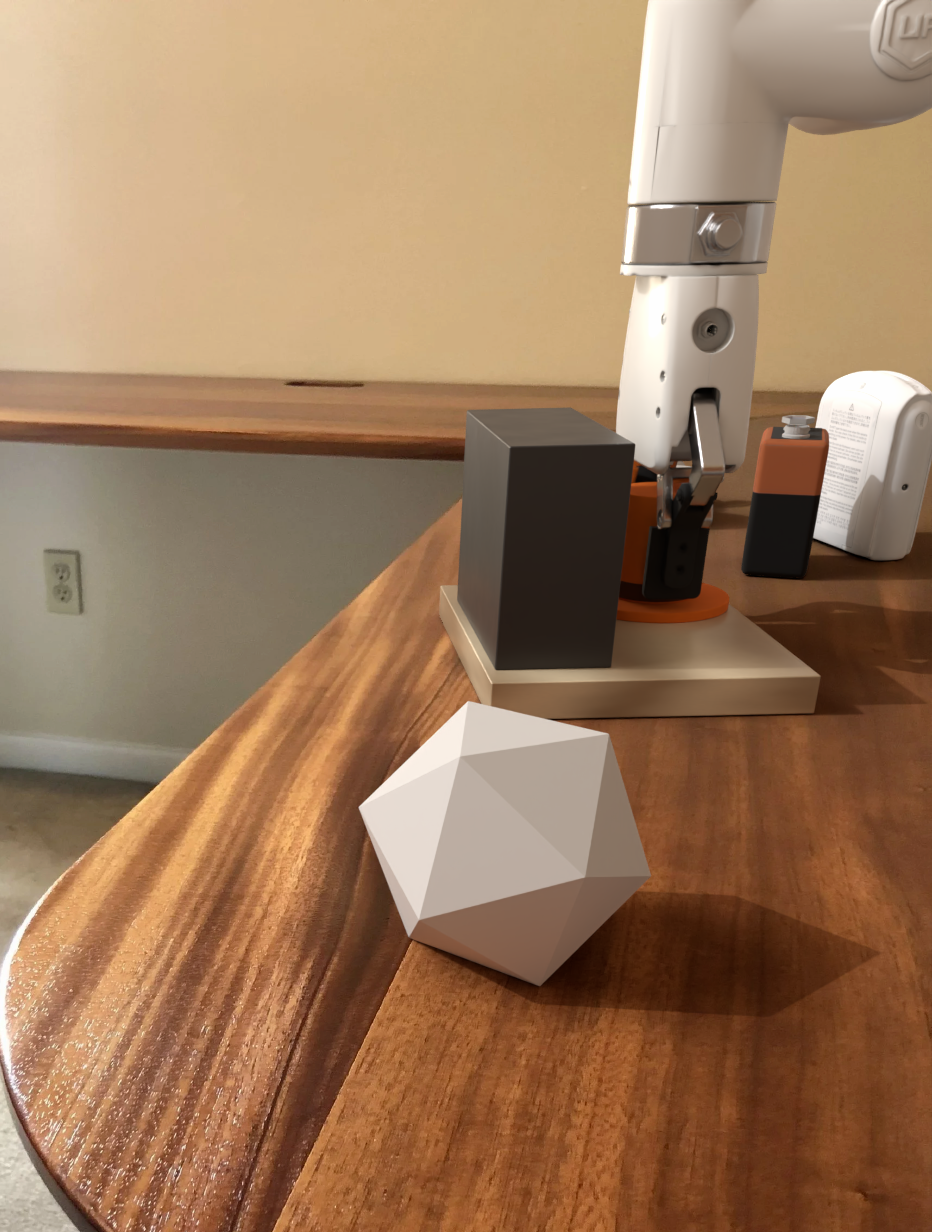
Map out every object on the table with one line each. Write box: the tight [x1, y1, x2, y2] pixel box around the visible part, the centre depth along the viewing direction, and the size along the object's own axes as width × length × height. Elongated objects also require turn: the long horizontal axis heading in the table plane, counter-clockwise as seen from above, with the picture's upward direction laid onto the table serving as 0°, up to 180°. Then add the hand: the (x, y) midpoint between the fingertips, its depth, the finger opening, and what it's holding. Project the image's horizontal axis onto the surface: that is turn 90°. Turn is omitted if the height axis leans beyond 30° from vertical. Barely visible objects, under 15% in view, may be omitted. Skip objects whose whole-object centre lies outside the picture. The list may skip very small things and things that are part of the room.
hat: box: [616, 482, 730, 623], centre depth 76 cm, size 9×9×7 cm
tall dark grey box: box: [457, 406, 636, 670], centre depth 70 cm, size 6×14×11 cm, turn 0°
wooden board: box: [438, 584, 822, 720], centre depth 74 cm, size 16×20×2 cm
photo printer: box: [813, 370, 932, 562], centre depth 95 cm, size 10×4×12 cm, turn 11°
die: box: [358, 700, 652, 987], centre depth 43 cm, size 8×9×10 cm
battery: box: [740, 414, 829, 579], centre depth 91 cm, size 4×7×10 cm, turn 159°
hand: (653, 580), depth 77 cm, fingers open, 6 cm apart
